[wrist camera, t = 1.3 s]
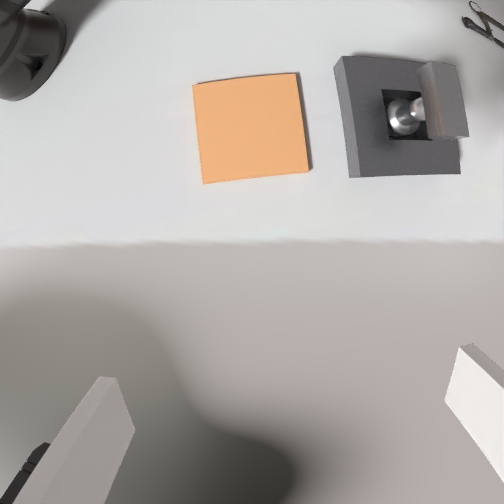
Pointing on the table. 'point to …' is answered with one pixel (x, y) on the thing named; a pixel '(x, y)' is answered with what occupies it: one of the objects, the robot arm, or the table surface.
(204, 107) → the key mat
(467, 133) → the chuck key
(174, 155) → the table surface
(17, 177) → the table surface
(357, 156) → the block
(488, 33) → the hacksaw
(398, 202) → the table surface
